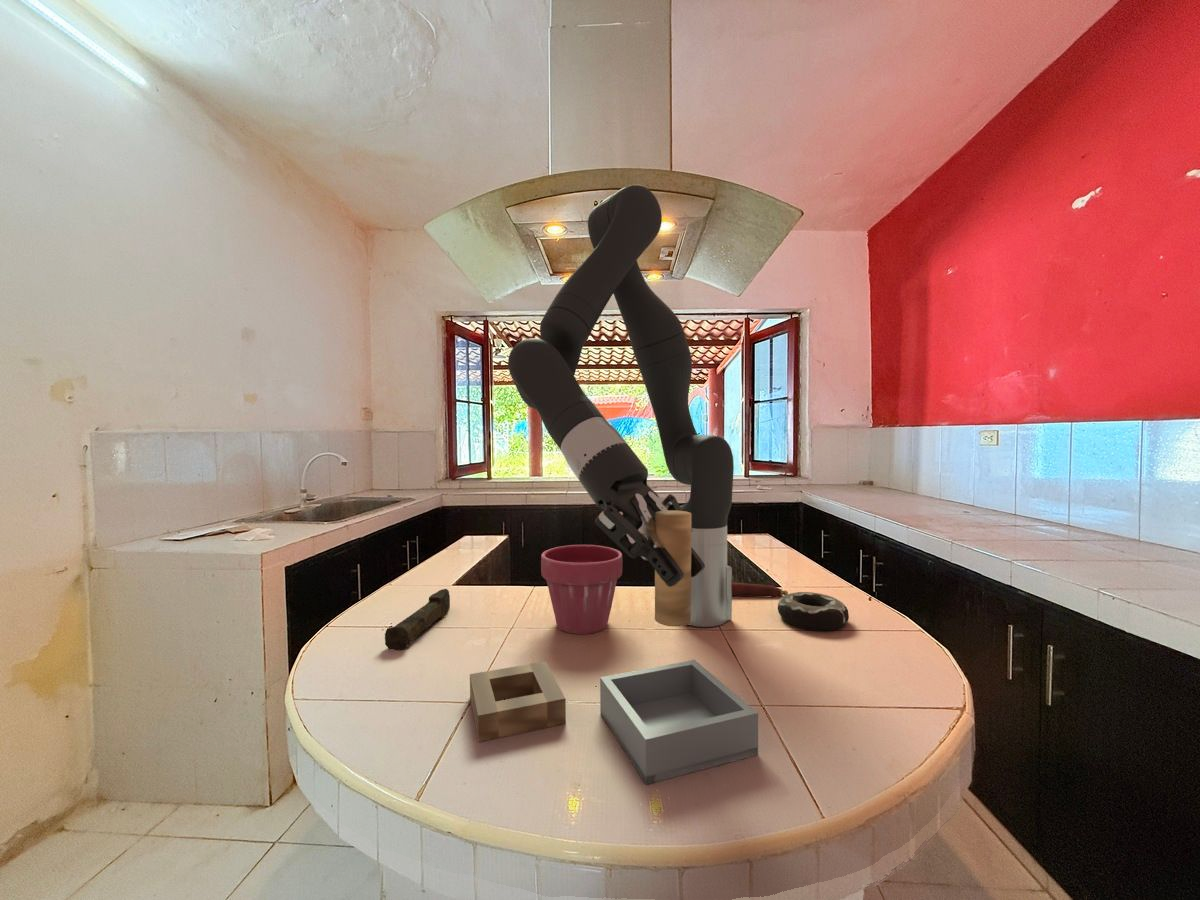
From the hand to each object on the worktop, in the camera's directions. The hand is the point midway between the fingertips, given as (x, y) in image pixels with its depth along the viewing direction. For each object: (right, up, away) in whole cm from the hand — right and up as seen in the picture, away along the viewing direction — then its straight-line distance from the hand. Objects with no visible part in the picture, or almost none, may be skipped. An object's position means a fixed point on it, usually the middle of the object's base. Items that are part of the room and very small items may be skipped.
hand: (688, 576), depth 55 cm
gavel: (+19, -17, +49) cm, 55 cm away
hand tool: (-41, -18, +33) cm, 56 cm away
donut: (+28, -17, +35) cm, 48 cm away
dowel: (-1, -5, +1) cm, 6 cm away
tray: (-1, -18, +2) cm, 18 cm away
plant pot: (-13, -17, +34) cm, 40 cm away
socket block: (-20, -18, +7) cm, 28 cm away
